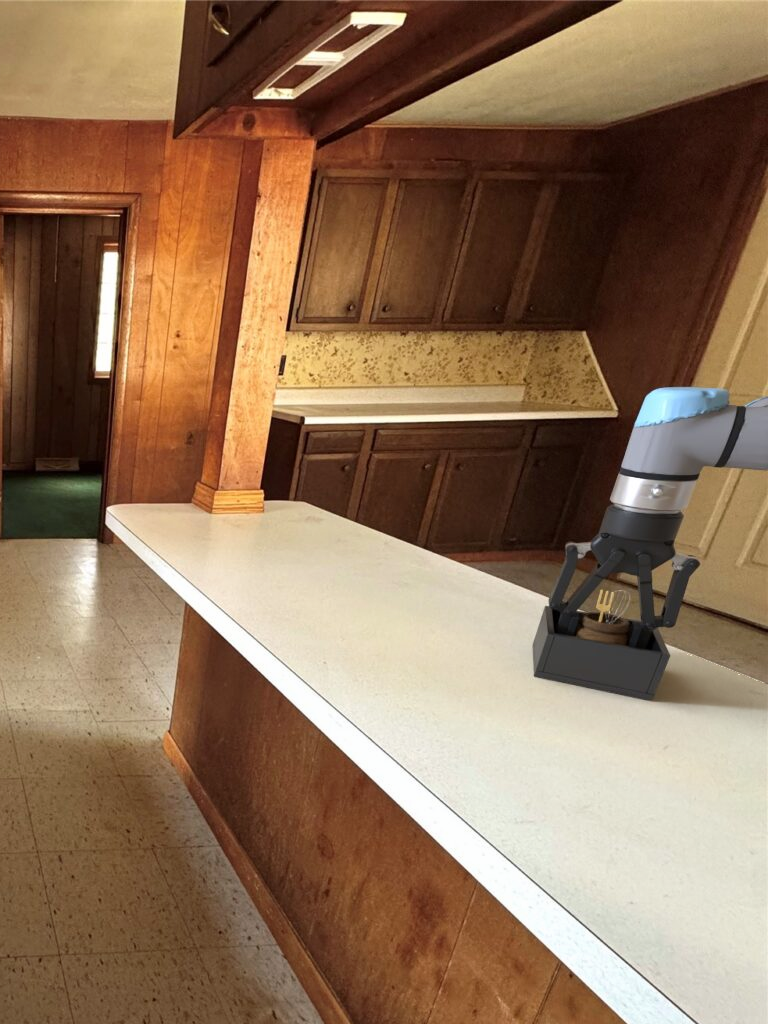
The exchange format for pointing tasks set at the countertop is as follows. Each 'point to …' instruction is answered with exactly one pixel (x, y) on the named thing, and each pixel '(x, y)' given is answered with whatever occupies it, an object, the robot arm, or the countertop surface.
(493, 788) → the countertop surface
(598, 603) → the utensil holder
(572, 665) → the dark grey open box
